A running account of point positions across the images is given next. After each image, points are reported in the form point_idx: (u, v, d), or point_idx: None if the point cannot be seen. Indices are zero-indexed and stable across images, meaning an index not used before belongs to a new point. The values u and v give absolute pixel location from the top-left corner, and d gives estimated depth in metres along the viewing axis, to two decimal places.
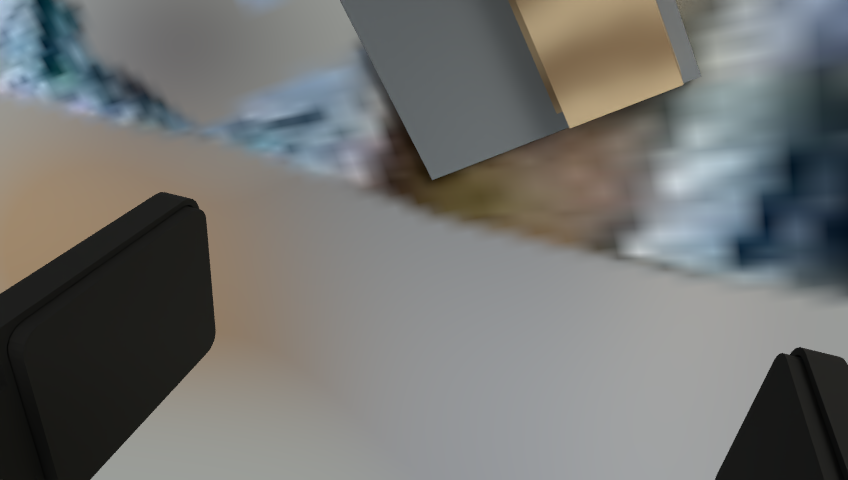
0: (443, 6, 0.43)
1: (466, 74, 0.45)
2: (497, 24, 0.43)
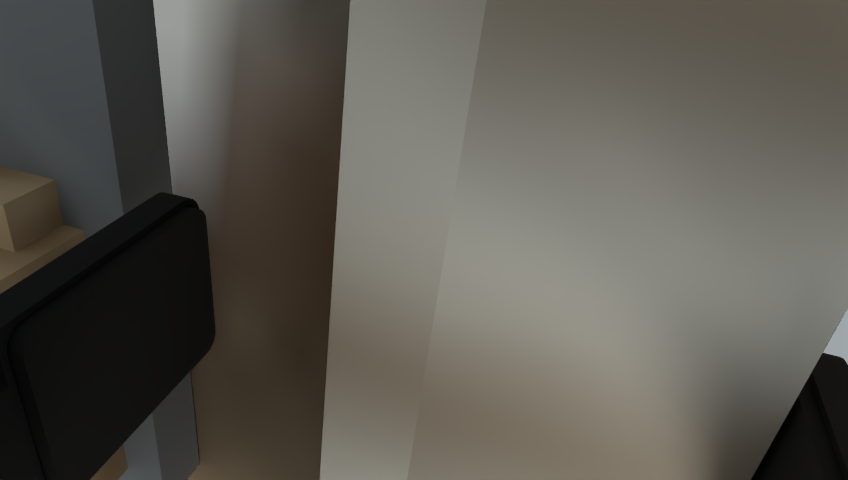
0: None
1: None
2: None
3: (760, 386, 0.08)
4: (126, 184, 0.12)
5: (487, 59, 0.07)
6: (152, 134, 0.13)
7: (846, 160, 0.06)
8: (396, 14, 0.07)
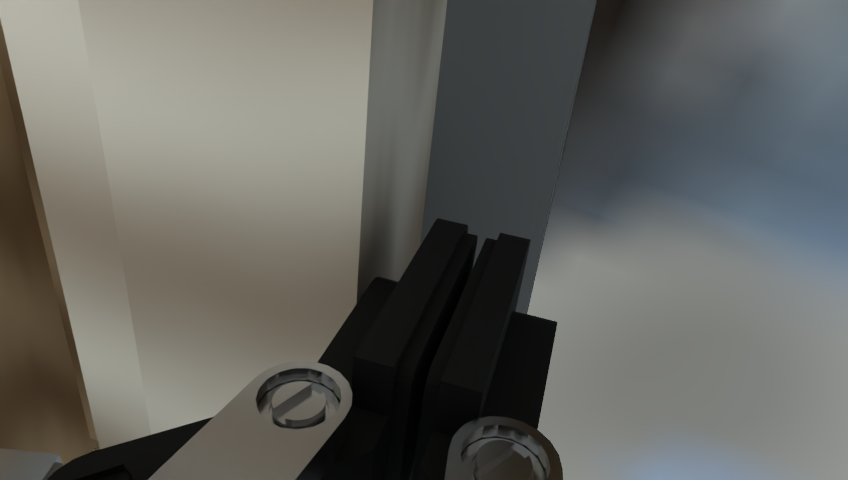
0: None
1: None
2: None
3: (335, 210, 0.10)
4: None
5: None
6: None
7: (323, 10, 0.08)
8: None
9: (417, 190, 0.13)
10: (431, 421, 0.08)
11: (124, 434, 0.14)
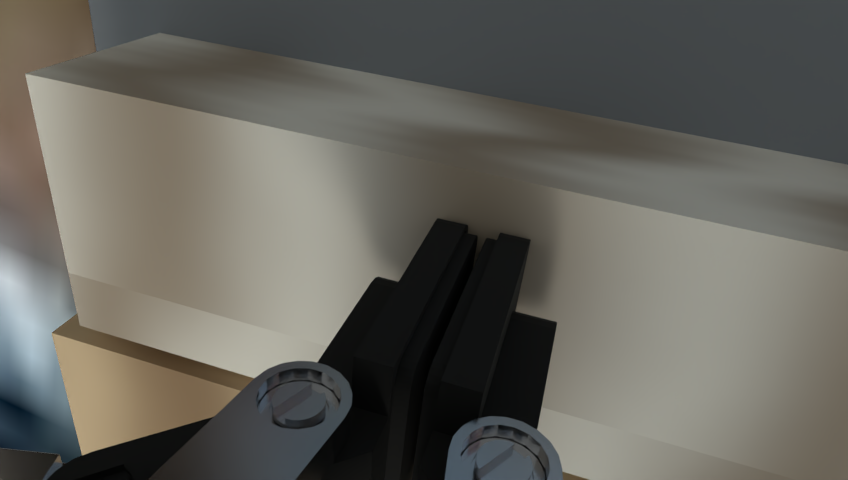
0: None
1: None
2: None
3: (371, 171, 0.11)
4: None
5: (219, 311, 0.13)
6: None
7: (220, 151, 0.12)
8: (211, 346, 0.14)
9: (474, 104, 0.13)
10: (431, 421, 0.08)
11: None
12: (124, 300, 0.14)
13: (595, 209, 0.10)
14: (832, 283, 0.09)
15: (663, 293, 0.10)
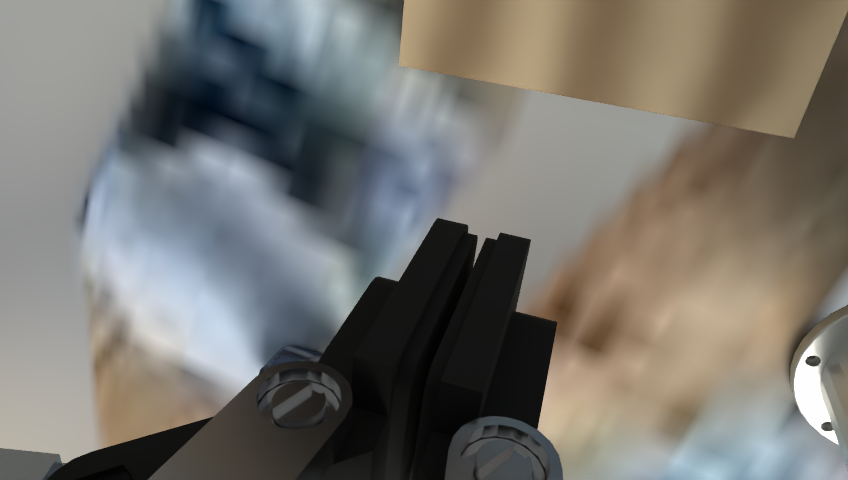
0: None
1: None
2: None
3: None
4: None
5: None
6: None
7: None
8: None
9: None
10: (431, 421, 0.08)
11: None
12: None
13: None
14: None
15: None
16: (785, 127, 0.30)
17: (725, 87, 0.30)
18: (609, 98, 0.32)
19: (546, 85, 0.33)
